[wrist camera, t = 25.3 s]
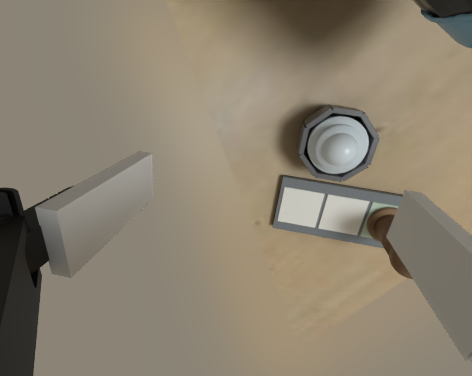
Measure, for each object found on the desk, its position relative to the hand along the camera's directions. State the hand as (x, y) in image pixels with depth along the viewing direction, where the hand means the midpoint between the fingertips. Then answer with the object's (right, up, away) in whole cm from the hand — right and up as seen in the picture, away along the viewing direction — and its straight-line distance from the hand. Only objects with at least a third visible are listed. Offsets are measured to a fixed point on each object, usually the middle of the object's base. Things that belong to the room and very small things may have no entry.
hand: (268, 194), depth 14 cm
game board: (+15, -4, +27) cm, 31 cm away
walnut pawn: (+21, -5, +25) cm, 33 cm away
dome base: (+12, +7, +23) cm, 27 cm away
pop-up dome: (+11, +6, +20) cm, 24 cm away
